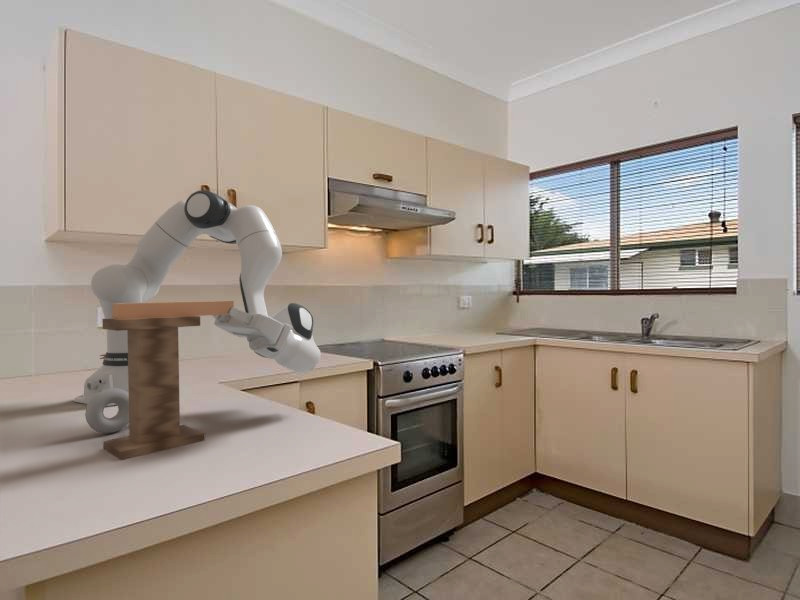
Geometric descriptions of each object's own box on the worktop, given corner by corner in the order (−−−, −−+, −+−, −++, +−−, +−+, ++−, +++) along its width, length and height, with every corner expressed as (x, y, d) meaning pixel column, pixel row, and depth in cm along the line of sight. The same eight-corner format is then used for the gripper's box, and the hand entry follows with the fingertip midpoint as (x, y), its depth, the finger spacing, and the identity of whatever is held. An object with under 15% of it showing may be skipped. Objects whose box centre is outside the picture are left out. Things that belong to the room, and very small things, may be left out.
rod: (227, 313, 114) (227, 300, 114) (233, 314, 112) (233, 301, 112) (112, 318, 96) (112, 303, 96) (117, 319, 94) (117, 303, 94)
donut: (131, 426, 115) (130, 383, 114) (138, 429, 112) (137, 385, 112) (83, 436, 107) (82, 390, 107) (89, 439, 105) (88, 392, 105)
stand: (183, 431, 110) (181, 315, 110) (204, 440, 103) (202, 316, 103) (103, 448, 99) (100, 318, 98) (121, 459, 92) (118, 320, 91)
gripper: (249, 323, 128) (204, 297, 119) (296, 326, 114) (249, 297, 105) (238, 345, 126) (191, 320, 117) (284, 351, 112) (235, 323, 103)
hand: (219, 309), depth 111 cm, fingers open, 8 cm apart
